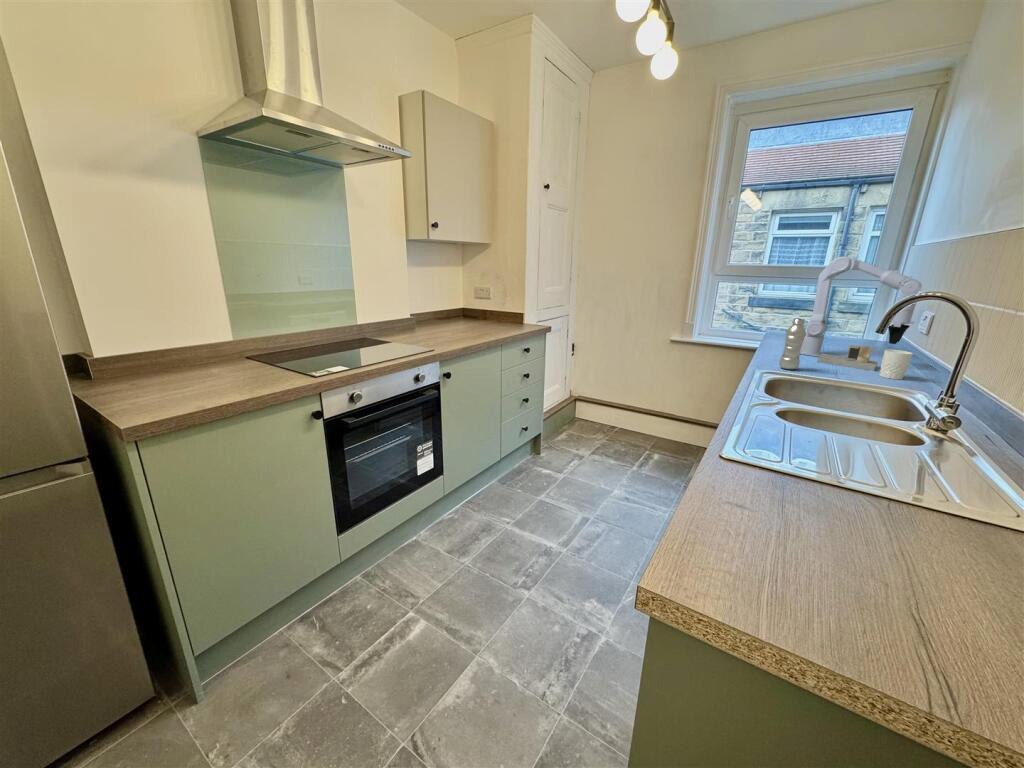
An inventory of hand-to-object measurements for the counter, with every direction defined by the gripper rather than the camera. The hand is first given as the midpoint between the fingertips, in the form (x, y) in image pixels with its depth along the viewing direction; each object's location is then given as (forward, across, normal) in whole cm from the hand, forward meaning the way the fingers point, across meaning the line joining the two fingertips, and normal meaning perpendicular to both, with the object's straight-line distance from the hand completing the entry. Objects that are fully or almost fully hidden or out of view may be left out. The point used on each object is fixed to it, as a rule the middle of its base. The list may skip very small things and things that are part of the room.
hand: (893, 342), depth 170 cm
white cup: (+10, -24, -4) cm, 26 cm away
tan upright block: (+8, -13, +6) cm, 17 cm away
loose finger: (+10, -4, +11) cm, 16 cm away
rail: (+10, -14, +12) cm, 20 cm away
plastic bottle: (+10, -43, +25) cm, 51 cm away
